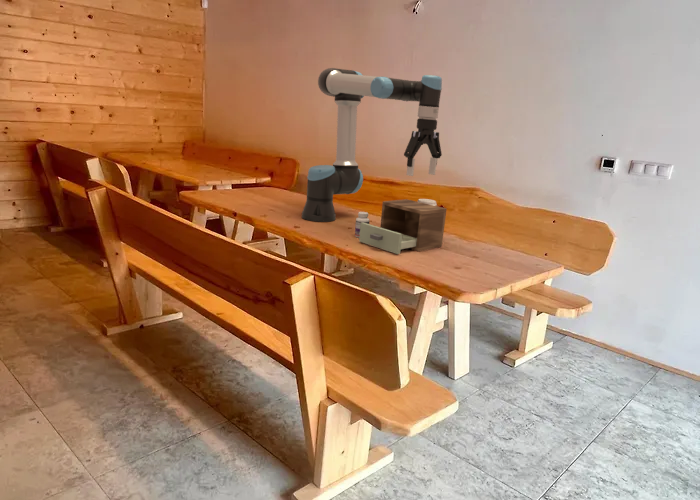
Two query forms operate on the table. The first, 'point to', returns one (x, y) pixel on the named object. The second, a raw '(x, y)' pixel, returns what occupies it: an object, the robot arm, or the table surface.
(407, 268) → the table surface
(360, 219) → the pill bottle
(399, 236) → the drawer
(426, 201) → the coffee cup
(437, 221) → the housing
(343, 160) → the robot arm
